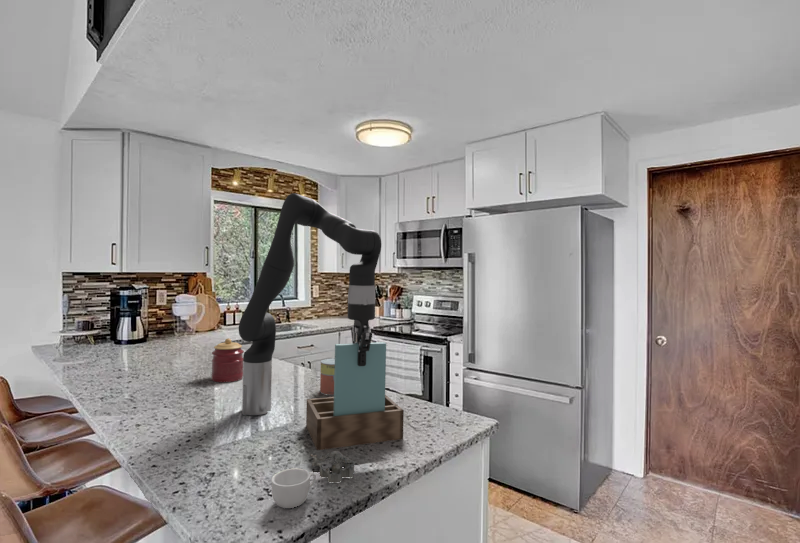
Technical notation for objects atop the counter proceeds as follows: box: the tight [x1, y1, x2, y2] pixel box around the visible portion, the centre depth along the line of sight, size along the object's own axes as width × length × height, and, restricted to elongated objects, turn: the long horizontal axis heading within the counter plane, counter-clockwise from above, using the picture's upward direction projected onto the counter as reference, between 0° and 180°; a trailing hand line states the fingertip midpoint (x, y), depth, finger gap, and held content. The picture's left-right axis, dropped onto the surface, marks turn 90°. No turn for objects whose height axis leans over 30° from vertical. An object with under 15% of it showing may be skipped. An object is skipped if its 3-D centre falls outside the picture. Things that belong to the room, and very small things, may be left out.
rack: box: [305, 394, 405, 451], centre depth 123 cm, size 24×18×10 cm
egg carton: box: [309, 450, 357, 483], centre depth 101 cm, size 11×8×4 cm
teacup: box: [271, 467, 317, 509], centre depth 89 cm, size 10×8×5 cm
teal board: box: [333, 341, 387, 416], centre depth 117 cm, size 14×2×20 cm, turn 111°
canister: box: [210, 338, 245, 383], centre depth 185 cm, size 13×13×18 cm
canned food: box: [319, 357, 335, 396], centre depth 170 cm, size 11×11×12 cm
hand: (360, 364), depth 117 cm, fingers closed on teal board, 2 cm apart
